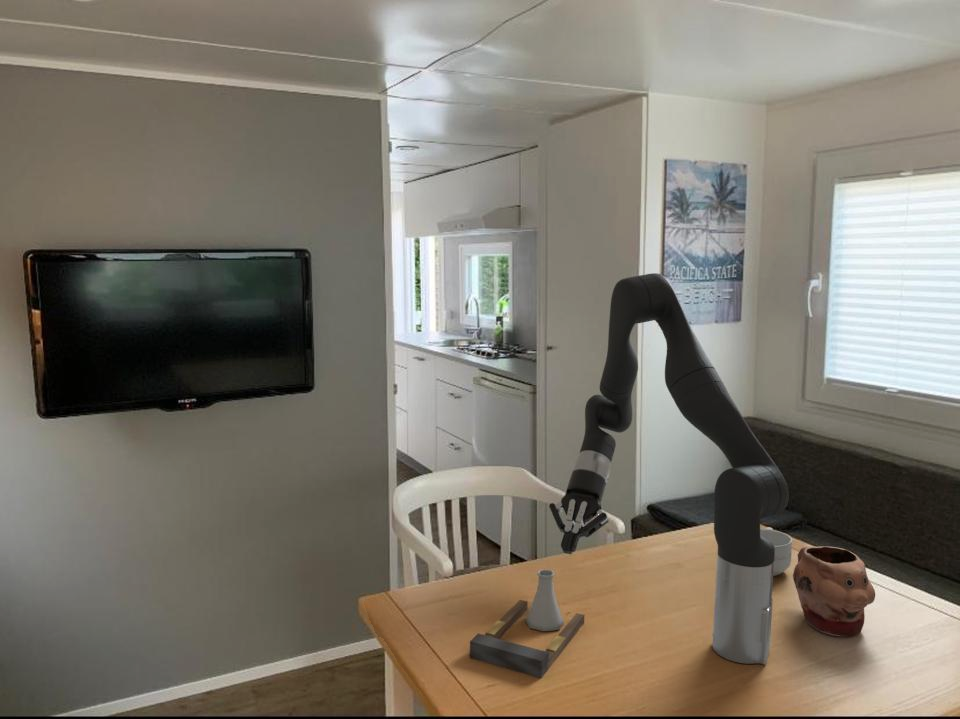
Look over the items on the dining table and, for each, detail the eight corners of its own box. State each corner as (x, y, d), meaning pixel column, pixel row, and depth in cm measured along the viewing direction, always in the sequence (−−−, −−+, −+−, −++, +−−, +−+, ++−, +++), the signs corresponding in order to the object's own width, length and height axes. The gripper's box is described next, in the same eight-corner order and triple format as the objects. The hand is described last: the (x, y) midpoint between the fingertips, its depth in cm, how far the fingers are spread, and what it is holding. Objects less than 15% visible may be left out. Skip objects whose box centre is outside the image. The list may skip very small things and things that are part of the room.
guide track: (584, 623, 139) (584, 607, 139) (541, 678, 120) (541, 660, 120) (519, 607, 145) (520, 592, 144) (469, 657, 126) (470, 641, 126)
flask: (563, 615, 142) (565, 565, 141) (564, 633, 135) (565, 581, 134) (525, 613, 143) (527, 563, 141) (524, 631, 136) (525, 579, 134)
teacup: (782, 585, 156) (784, 549, 155) (730, 572, 163) (733, 537, 162) (799, 564, 167) (802, 530, 166) (750, 552, 174) (753, 520, 173)
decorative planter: (765, 601, 149) (769, 535, 147) (817, 595, 152) (822, 530, 150) (835, 652, 130) (841, 576, 128) (893, 644, 132) (900, 570, 131)
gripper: (555, 463, 157) (531, 537, 148) (616, 472, 151) (594, 550, 142) (564, 481, 162) (540, 553, 153) (622, 490, 156) (602, 566, 147)
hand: (566, 552), depth 148 cm, fingers closed
